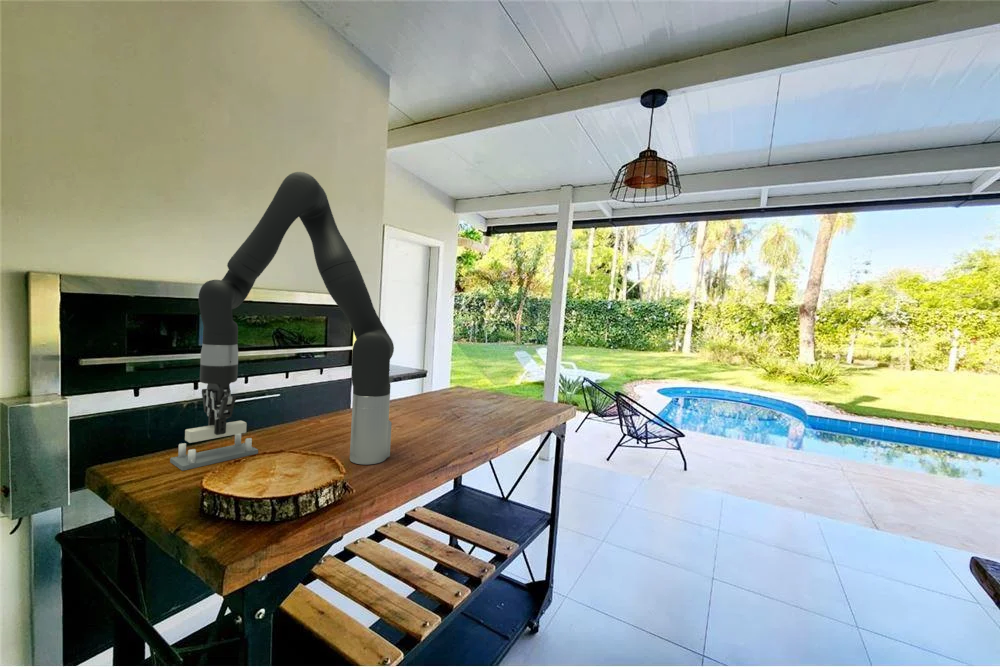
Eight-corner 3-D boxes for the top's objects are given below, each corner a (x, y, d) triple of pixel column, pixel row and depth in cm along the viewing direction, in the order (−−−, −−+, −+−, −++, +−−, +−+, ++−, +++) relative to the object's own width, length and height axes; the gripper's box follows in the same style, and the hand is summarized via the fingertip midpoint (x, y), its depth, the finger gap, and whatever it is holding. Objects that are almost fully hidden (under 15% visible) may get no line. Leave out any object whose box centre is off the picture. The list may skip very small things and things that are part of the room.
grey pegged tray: (244, 446, 107) (244, 431, 107) (258, 453, 103) (258, 438, 103) (170, 462, 94) (170, 445, 94) (182, 470, 90) (182, 453, 90)
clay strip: (240, 429, 104) (241, 420, 104) (246, 432, 103) (246, 422, 103) (184, 440, 94) (185, 429, 94) (189, 442, 93) (190, 432, 93)
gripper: (249, 365, 97) (246, 435, 98) (224, 358, 105) (221, 424, 106) (214, 367, 91) (211, 442, 91) (189, 360, 99) (187, 429, 99)
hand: (216, 432), depth 98 cm, fingers closed on clay strip, 3 cm apart
